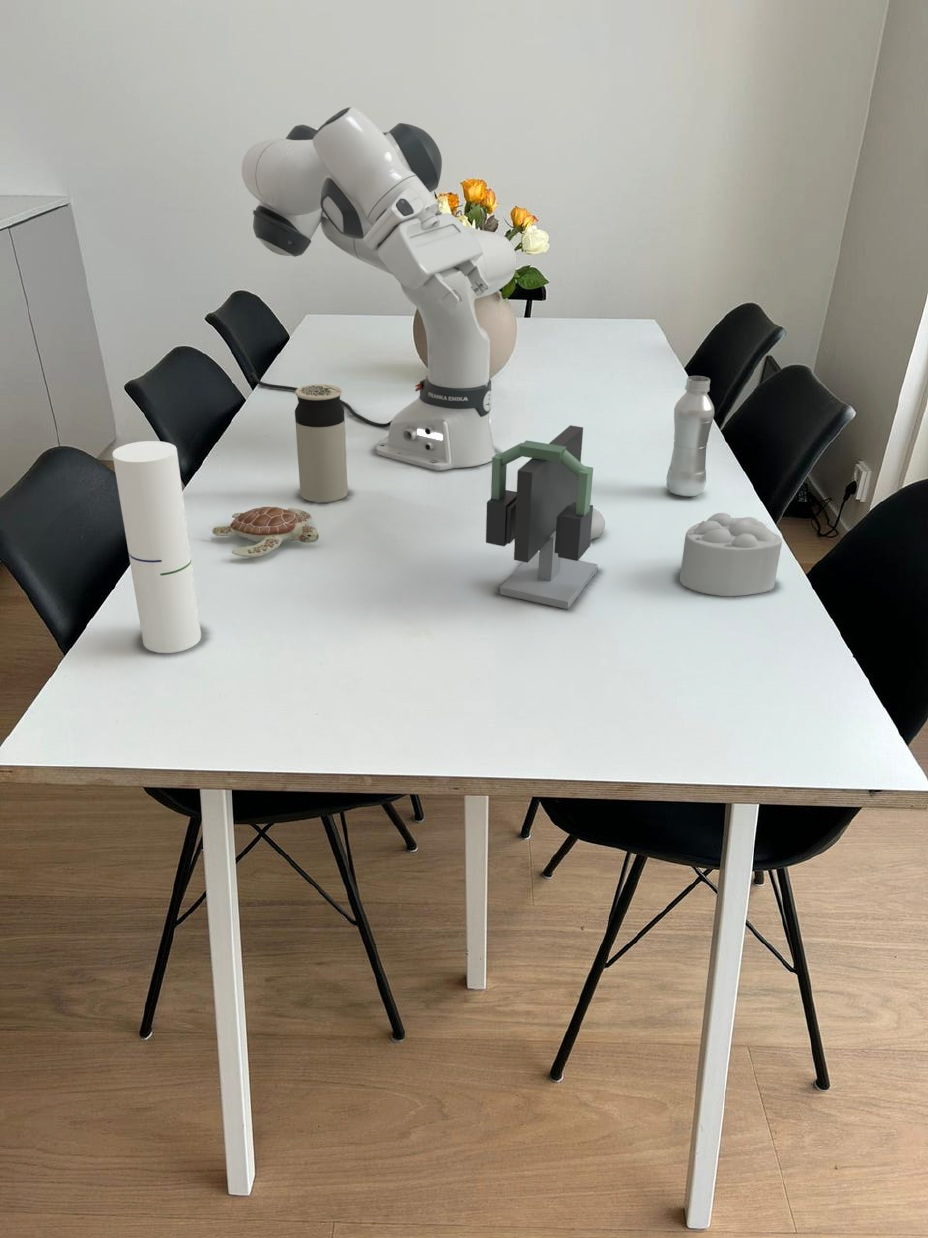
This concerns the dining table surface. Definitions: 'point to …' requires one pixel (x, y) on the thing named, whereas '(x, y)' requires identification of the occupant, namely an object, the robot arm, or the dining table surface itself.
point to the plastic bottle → (691, 438)
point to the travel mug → (321, 443)
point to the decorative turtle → (269, 529)
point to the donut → (597, 524)
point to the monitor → (546, 530)
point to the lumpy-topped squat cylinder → (730, 556)
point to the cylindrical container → (158, 544)
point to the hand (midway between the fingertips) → (471, 298)
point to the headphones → (570, 522)
